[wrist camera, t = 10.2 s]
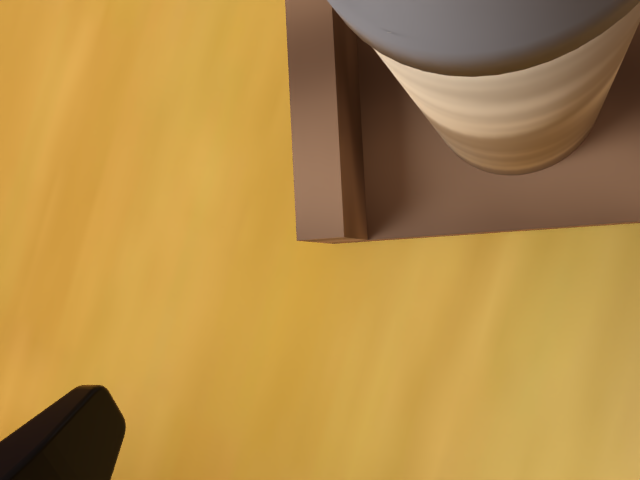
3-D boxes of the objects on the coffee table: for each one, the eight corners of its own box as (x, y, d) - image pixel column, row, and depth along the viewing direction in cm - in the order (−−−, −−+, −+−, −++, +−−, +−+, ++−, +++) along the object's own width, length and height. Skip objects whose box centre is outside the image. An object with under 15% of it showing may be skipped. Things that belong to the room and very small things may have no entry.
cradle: (769, 214, 17) (823, 202, 14) (333, 243, 21) (296, 240, 18) (737, -129, 17) (782, -217, 14) (318, -30, 22) (281, -80, 19)
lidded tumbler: (504, 213, 19) (456, 141, 7) (397, 95, 20) (215, -123, 8) (647, 94, 17) (859, -216, 6) (523, -23, 19) (508, -463, 7)
